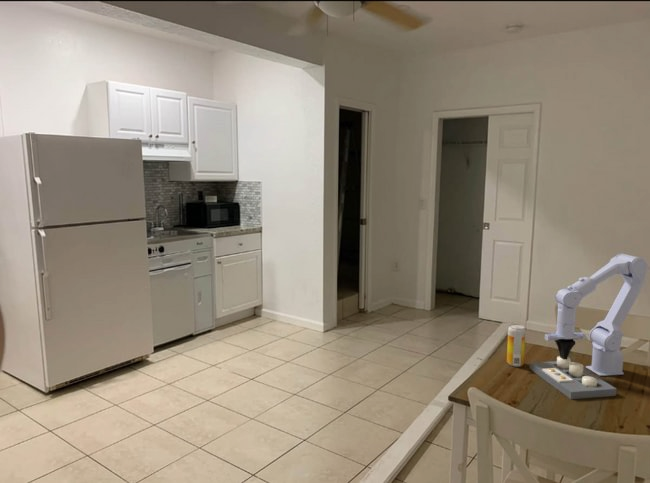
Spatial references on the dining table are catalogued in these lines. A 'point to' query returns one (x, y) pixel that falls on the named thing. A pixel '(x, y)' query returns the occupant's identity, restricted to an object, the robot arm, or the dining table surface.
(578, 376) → the button
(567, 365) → the button
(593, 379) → the button
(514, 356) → the beer can
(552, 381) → the board
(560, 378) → the tile
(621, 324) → the robot arm
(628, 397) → the dining table surface
